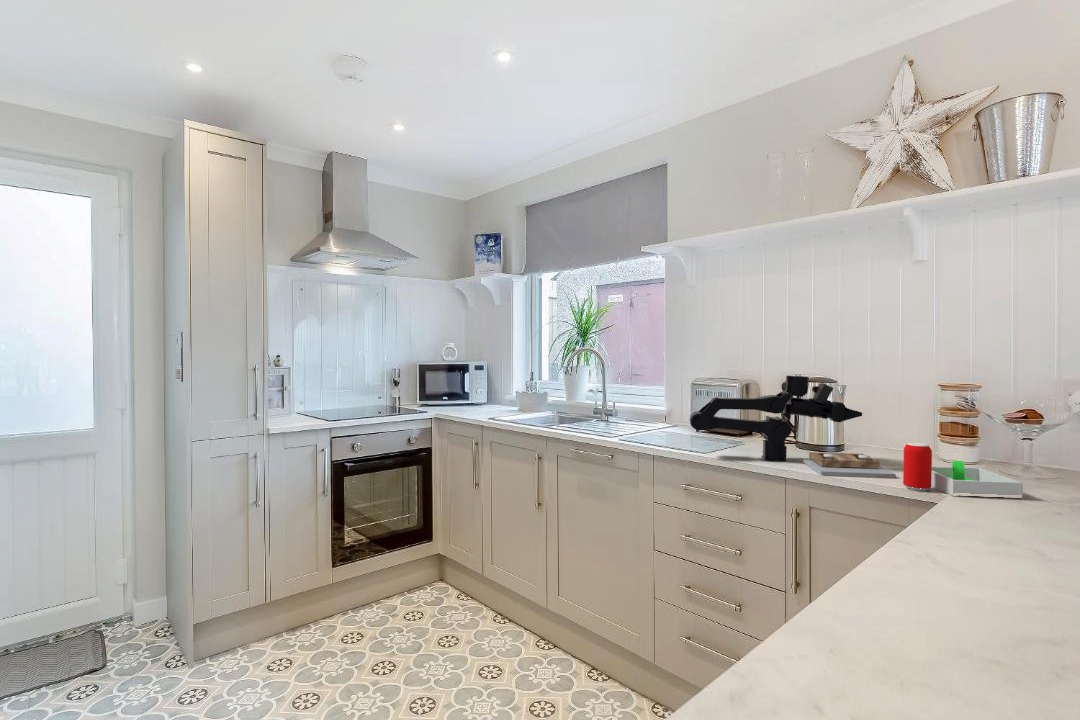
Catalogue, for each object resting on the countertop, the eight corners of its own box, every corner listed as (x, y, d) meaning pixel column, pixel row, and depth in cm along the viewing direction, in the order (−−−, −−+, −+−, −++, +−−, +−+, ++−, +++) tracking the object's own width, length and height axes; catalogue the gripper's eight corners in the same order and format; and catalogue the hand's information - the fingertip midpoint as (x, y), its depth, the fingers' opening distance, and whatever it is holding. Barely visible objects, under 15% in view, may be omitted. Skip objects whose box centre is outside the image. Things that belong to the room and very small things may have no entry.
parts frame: (952, 496, 139) (953, 480, 139) (918, 480, 156) (918, 466, 156) (1022, 499, 137) (1022, 483, 137) (979, 482, 154) (980, 468, 154)
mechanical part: (983, 496, 140) (984, 465, 140) (954, 493, 143) (955, 462, 143) (975, 486, 150) (976, 456, 150) (948, 483, 153) (948, 454, 153)
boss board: (821, 475, 162) (821, 460, 162) (802, 462, 180) (802, 449, 179) (895, 478, 158) (896, 462, 158) (869, 464, 176) (869, 450, 176)
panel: (821, 466, 167) (821, 459, 167) (809, 458, 179) (809, 452, 179) (879, 468, 165) (879, 461, 165) (862, 460, 177) (862, 453, 176)
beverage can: (927, 493, 142) (928, 446, 142) (899, 488, 147) (900, 443, 147) (934, 489, 146) (934, 444, 146) (907, 484, 151) (907, 441, 151)
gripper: (816, 384, 173) (870, 389, 170) (800, 382, 192) (849, 387, 189) (812, 419, 173) (866, 425, 170) (797, 414, 192) (845, 419, 189)
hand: (856, 413), depth 179 cm, fingers open, 9 cm apart
